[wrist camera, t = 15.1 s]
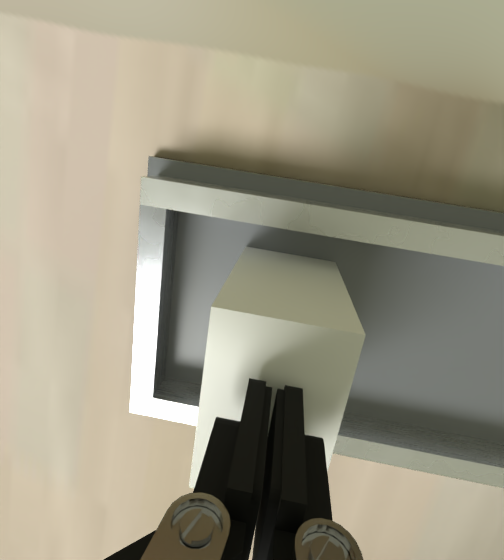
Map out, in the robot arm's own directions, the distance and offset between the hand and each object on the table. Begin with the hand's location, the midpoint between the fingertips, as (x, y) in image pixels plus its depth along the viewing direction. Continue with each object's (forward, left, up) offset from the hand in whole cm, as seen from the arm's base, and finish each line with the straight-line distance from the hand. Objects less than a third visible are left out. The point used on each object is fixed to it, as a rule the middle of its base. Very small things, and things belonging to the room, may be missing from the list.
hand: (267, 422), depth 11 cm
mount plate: (-3, -2, -9) cm, 10 cm away
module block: (0, 0, -8) cm, 8 cm away
